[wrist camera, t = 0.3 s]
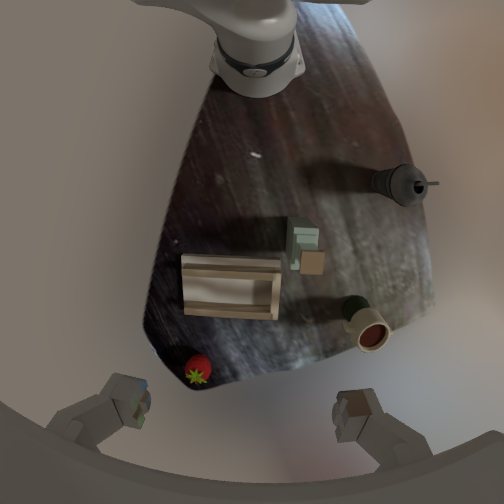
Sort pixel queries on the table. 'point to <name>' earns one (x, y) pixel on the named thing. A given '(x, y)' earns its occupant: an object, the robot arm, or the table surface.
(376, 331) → the character mug
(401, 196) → the beverage cup
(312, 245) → the pale green flat bottle
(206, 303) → the u rest
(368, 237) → the table surface
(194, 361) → the strawberry
